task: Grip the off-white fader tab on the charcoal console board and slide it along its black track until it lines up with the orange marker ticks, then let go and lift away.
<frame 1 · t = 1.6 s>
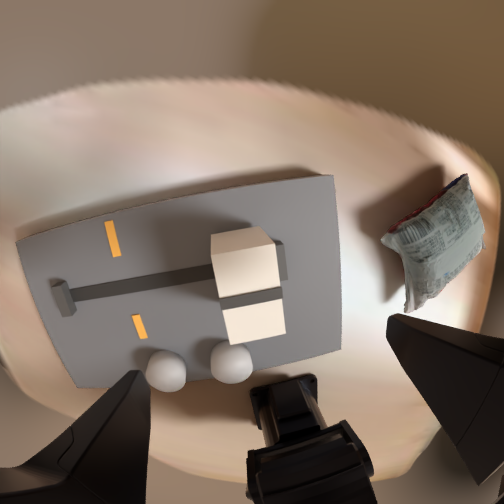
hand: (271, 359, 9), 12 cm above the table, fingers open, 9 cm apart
fader: (245, 281, 16), point 5 cm above the table, slide at 0.0 cm
console: (177, 294, 20), on the table
packaged food: (427, 237, 23), on the table
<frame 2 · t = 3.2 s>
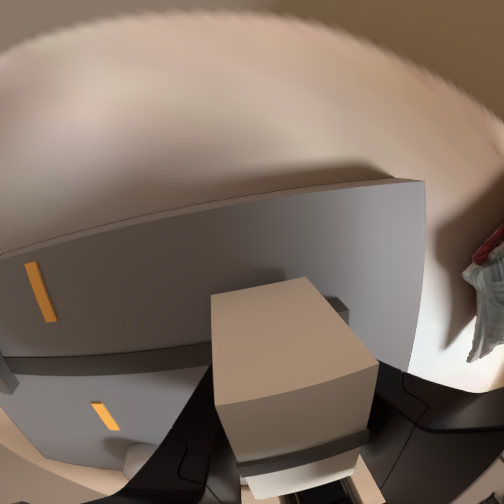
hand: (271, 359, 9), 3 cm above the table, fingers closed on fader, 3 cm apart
fader: (284, 395, 7), point 5 cm above the table, slide at 0.0 cm, touching gripper
console: (159, 368, 12), on the table
packaged food: (496, 262, 14), on the table
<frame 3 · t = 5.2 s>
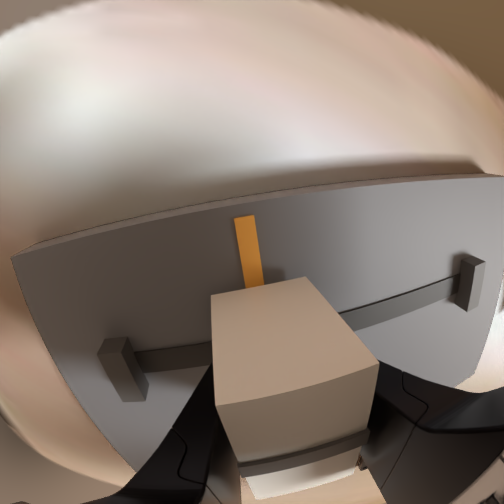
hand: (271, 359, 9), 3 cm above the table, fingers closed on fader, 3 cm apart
fader: (284, 395, 7), point 5 cm above the table, slide at 7.9 cm, touching gripper
console: (323, 337, 13), on the table
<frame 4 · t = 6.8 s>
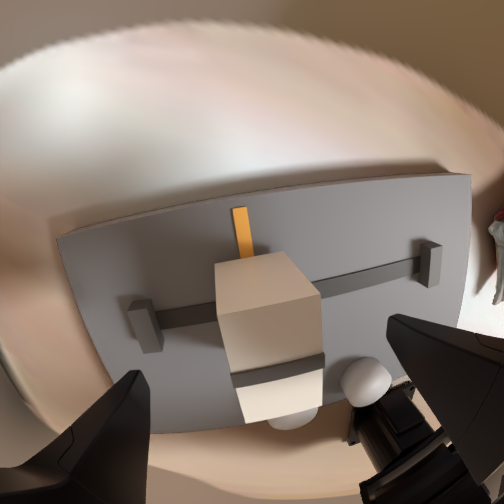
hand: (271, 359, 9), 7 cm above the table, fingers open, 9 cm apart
fader: (266, 335, 10), point 5 cm above the table, slide at 8.0 cm
console: (304, 307, 16), on the table
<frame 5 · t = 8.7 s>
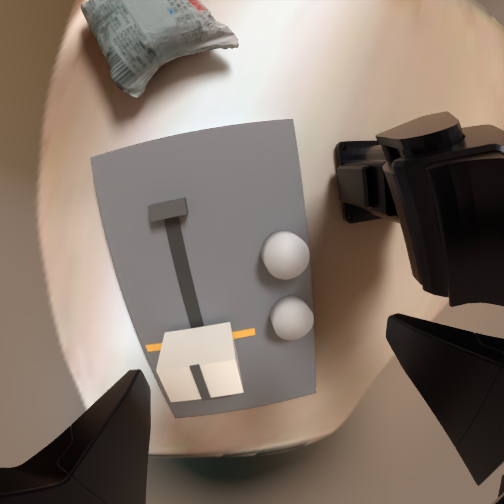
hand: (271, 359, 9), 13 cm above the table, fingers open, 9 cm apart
fader: (201, 362, 18), point 5 cm above the table, slide at 8.0 cm
console: (218, 291, 22), on the table
packaged food: (157, 27, 15), on the table
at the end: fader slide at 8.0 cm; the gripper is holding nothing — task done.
